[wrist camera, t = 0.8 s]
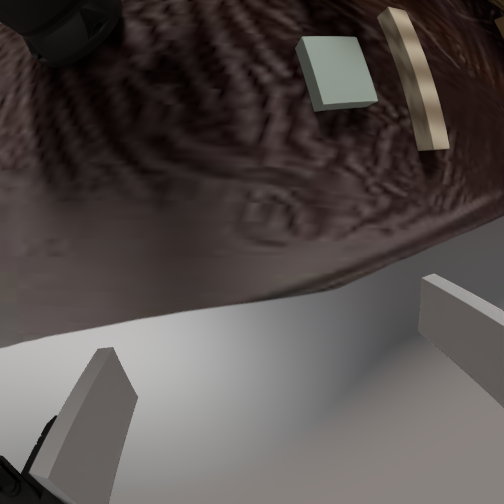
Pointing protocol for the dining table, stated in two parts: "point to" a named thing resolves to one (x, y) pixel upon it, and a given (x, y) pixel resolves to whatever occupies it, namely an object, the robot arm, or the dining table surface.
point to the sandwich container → (500, 25)
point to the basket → (498, 3)
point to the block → (335, 72)
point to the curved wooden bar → (415, 80)
